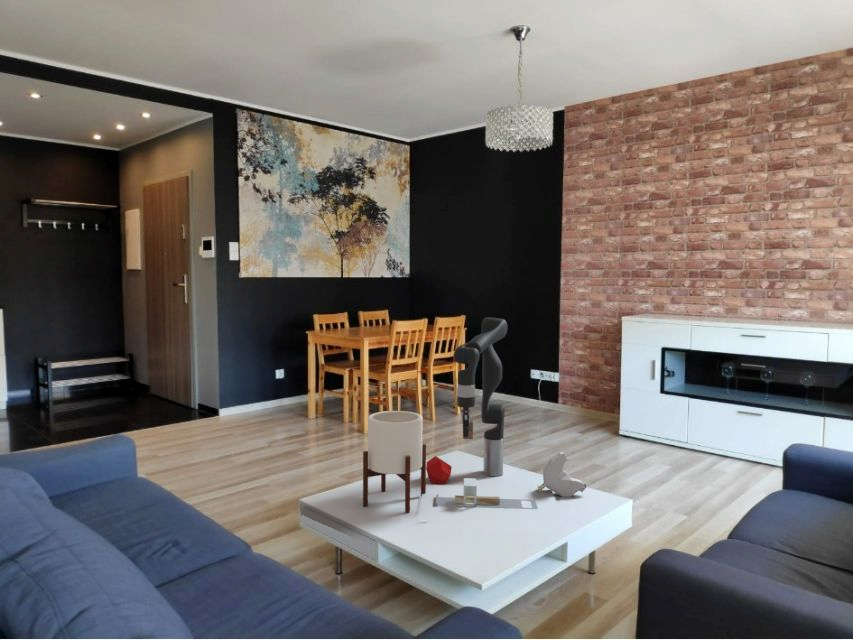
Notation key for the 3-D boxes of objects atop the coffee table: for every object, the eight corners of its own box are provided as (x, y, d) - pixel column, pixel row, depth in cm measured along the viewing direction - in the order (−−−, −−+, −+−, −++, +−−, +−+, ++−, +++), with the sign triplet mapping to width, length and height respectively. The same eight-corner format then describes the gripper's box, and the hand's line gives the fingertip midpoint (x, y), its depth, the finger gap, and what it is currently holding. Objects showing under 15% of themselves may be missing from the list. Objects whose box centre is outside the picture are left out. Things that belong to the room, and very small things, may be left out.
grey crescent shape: (543, 506, 255) (589, 493, 254) (531, 464, 254) (576, 450, 253) (541, 500, 262) (585, 487, 261) (528, 459, 261) (573, 446, 260)
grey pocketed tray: (435, 500, 250) (436, 477, 249) (534, 503, 248) (535, 479, 247) (435, 509, 240) (435, 485, 239) (538, 512, 238) (538, 488, 237)
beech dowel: (455, 501, 245) (455, 495, 245) (499, 502, 245) (499, 496, 244) (455, 503, 243) (455, 497, 243) (499, 504, 242) (499, 498, 242)
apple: (427, 490, 267) (418, 469, 280) (452, 489, 271) (443, 469, 284) (431, 468, 263) (423, 448, 276) (457, 468, 267) (447, 448, 280)
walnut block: (463, 436, 253) (463, 420, 252) (472, 436, 252) (472, 420, 252) (463, 438, 249) (463, 422, 248) (472, 439, 248) (472, 422, 248)
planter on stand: (381, 489, 263) (381, 408, 261) (429, 495, 256) (429, 413, 253) (358, 507, 242) (358, 420, 240) (410, 514, 235) (411, 425, 232)
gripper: (475, 398, 242) (474, 440, 243) (474, 391, 256) (474, 431, 257) (457, 398, 242) (456, 439, 244) (457, 391, 257) (456, 431, 258)
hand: (465, 435), depth 251 cm, fingers closed on walnut block, 4 cm apart
